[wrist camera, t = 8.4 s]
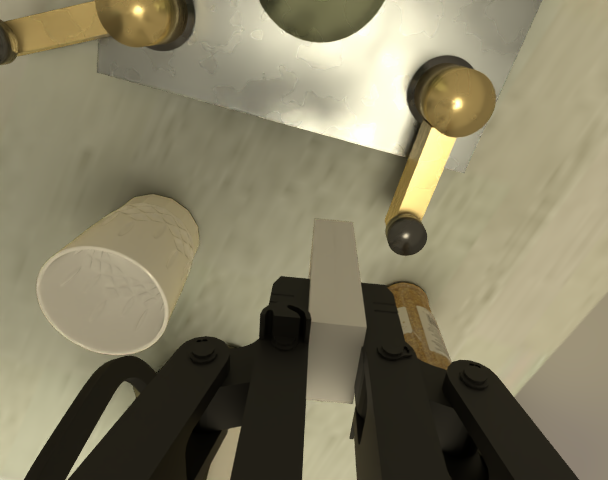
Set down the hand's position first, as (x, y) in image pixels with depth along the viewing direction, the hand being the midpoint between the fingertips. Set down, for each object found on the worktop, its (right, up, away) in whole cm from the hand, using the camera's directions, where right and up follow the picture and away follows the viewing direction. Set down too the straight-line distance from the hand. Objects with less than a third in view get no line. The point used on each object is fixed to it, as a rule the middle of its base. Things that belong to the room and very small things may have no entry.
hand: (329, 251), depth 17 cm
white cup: (-13, +1, +18) cm, 22 cm away
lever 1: (-14, +13, +9) cm, 21 cm away
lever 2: (+7, +6, +11) cm, 15 cm away
